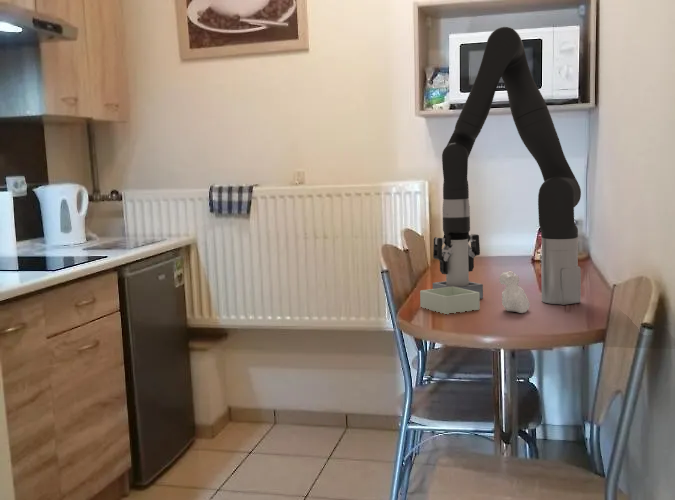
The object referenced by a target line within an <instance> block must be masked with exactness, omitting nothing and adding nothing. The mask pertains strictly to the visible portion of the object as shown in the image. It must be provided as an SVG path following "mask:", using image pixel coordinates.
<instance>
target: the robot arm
mask: <svg viewBox="0 0 675 500" xmlns="http://www.w3.org/2000/svg"><path fill="white" fill-rule="evenodd" d="M501 79H502V81H503V83H504V85H505V89H506V93H507V97H508V105H509V108H510V112H511V117H512V120H513V122H514V125H515V127H516V130H517V134H518V135H519V137H520V139H521V141H522V143H523V144H524V146H525V147H526V149H527V151H528V152H529V153H530V154H531V156H532V157H533V159H534V161H536V164H537V166H538V168H539V169H540V173H541V176H542V178H543V182H542V184H541V185H540V187H539V190H538V195H537V197H538V198H537V202H538V203H537V205H538V206H537V207H538V208H537V210H538V225H539V229H540V232H541V233H540V234H541V302H543V303H546V304H552V305H561V306H562V305H563V306H564V305H571V304H572V305H573V304H578V303H581V299H582V298H581V289H582V288H581V287H582V286H581V279H582V278H581V277H582V276H581V274H582V273H581V272H582V271H581V270H582V269H581V267H580V265H578V263H579V262H578V259H579V249H578V248H579V247H578V246H579V243H578V242H579V230H578V226H577V225H576V222H575V208H576V206H577V205H578V204H579V203H580V200H581V197H582V189H581V187H580V184H579V181H578V180H577V177H576V176H575V174H574V172H573V170H572V169H571V166H570V164H569V163H568V161H567V158H566V156H565V153H564V150H563V148H562V145H561V142H560V141H561V140H560V138H559V134H558V132H557V130H556V128H555V123H554V121H553V118H552V115H551V113H550V110H549V108H548V105H547V103H546V101H545V99H544V97H543V94H542V93H541V90H540V89H539V87H538V85H537V84H536V82H535V80H534V78H533V75H532V73H531V71H530V67H529V63H528V59H527V55H526V51H525V46H524V41H522V38H521V36H520V34H519V33H518V32H517V31H516V30H515V29H513V28H512V27H510V26H509V27H508V26H503V27H498V28H497V29H495V30H494V31H492V32H491V33H490V35H489V36H488V38H487V41H486V45H485V48H484V51H483V55H482V60H481V62H480V66H479V69H478V71H477V75H476V77H475V80H474V83H473V84H472V86H471V90H470V92H469V94H468V96H467V98H466V100H465V103H464V104H463V105H464V106H462V109H461V112H460V114H459V116H458V118H457V120H456V123H455V126H454V130H453V132H452V134H451V136H450V138H449V140H448V142H447V144H446V146H445V147H444V149H443V151H442V154H441V163H442V166H441V167H442V177H443V184H442V196H443V197H442V199H443V200H442V232H443V237H434V238H433V248H432V249H433V250H432V252H433V255H432V256H433V259H436V260H438V261H439V272H440V273H441V274H442V275H446V274H448V261H447V259H448V257H449V256H450V255H451V254H452V252H453V245H451V232H452V233H466V232H468V235H467V236H468V266H469V273H470V272H473V270H474V268H475V263H474V262H475V261H474V260H475V257H477V256H480V254H481V250H480V249H481V248H480V235H479V234H476V233H471V234H470V231H471V212H470V211H471V209H470V208H471V207H470V199H469V195H470V194H469V193H470V192H469V190H470V189H469V180H468V169H469V167H468V165H469V158H470V155H471V152H472V149H473V147H474V145H475V142H476V140H477V138H478V137H479V135H480V133H481V132H482V129H483V127H484V125H485V123H486V120H487V118H488V115H489V113H490V110H491V107H492V105H493V101H494V98H495V94H496V91H497V88H498V85H499V83H500V80H501ZM469 242H470V244H469ZM454 243H455V242H454ZM443 245H444V246H443ZM447 245H448V247H449V250H446V247H447Z"/></svg>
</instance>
